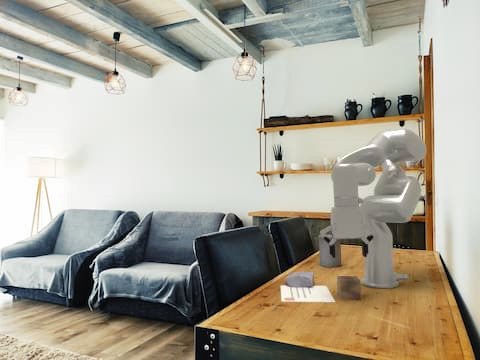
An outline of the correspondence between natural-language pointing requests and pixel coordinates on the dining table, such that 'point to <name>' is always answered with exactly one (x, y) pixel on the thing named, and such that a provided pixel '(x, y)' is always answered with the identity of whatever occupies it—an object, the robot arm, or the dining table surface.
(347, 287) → the walnut cube
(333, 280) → the dining table surface
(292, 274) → the stone block
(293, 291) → the letter
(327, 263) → the pillar candle
